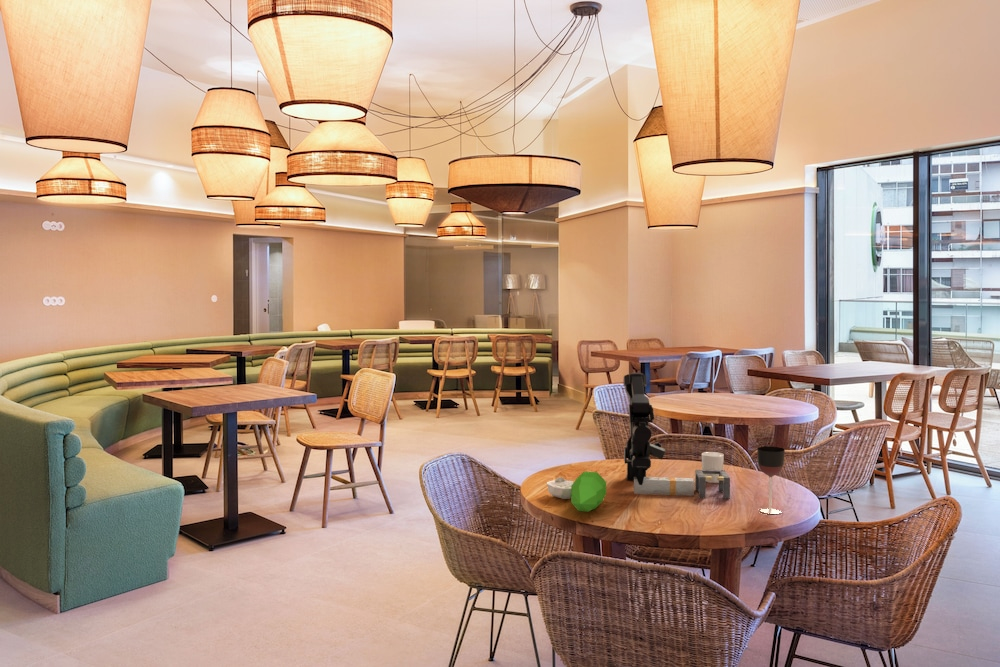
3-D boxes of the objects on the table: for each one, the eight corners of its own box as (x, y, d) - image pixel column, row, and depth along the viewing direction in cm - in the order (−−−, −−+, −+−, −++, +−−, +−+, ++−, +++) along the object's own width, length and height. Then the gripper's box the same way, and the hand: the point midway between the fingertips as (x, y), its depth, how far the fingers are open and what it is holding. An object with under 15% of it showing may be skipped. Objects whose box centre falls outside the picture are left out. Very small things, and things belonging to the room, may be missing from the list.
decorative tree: (602, 462, 249) (590, 480, 220) (615, 494, 248) (604, 516, 219) (571, 473, 252) (555, 492, 223) (584, 504, 251) (569, 528, 222)
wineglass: (788, 511, 233) (789, 448, 232) (777, 517, 227) (777, 453, 226) (763, 506, 238) (764, 445, 237) (752, 512, 232) (752, 449, 231)
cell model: (554, 504, 243) (554, 483, 243) (542, 494, 254) (542, 475, 254) (583, 501, 246) (583, 481, 245) (570, 492, 257) (570, 473, 257)
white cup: (726, 483, 268) (726, 456, 267) (704, 483, 268) (704, 456, 267) (720, 478, 276) (720, 451, 275) (699, 478, 276) (699, 451, 275)
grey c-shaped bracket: (699, 498, 249) (699, 476, 248) (695, 489, 259) (695, 469, 259) (729, 498, 247) (730, 477, 247) (724, 490, 258) (724, 470, 258)
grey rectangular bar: (634, 493, 255) (634, 479, 254) (633, 490, 259) (633, 476, 259) (693, 495, 252) (693, 481, 252) (691, 492, 256) (692, 478, 256)
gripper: (666, 442, 245) (666, 489, 246) (661, 432, 264) (661, 475, 265) (632, 442, 247) (632, 488, 248) (629, 432, 265) (629, 474, 266)
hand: (639, 481), depth 256 cm, fingers open, 9 cm apart
